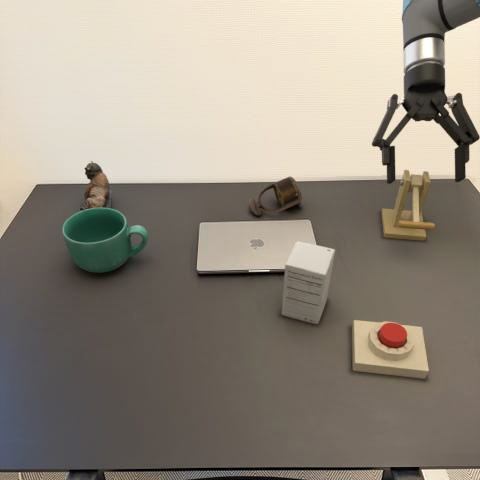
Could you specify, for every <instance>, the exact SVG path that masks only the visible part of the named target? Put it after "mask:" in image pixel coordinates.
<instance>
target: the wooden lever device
mask: <svg viewBox="0 0 480 480" xmlns="http://www.w3.org/2000/svg"><path fill="white" fill-rule="evenodd" d="M421 175H422V186H421V189H420V191H419V222H424V217H423V212H422V211H423V208H424V204H425V201H426V198H427V196H428V193H429V189H430V187H431V183H432V182H431V178H430V174H429V171H423V172H422V174H421ZM410 176H411V174H410V170H408V169H404V170H403V173H402V176H401V179H400V180H399V181H400V182H399V188H398V192H397V196H396V200H395V203H394V206H393V208H381V213H380V214H381V222H382V231H383V232H382V233H383V238H384V239H386V238H387V239H397V240H410V241H422V242H425V241H426V239H427V232H426V230H423V229H411V228H399V227H398V221H399V220H402V221H413V219H412V210H409V209H407V210H406V209H404V208H405V207H404V206H405V204H406V200H407V196H408V193H409V192H408V190H409V186H410V183H411V178H410Z"/></svg>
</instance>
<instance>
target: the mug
mask: <svg viewBox="0 0 480 480" xmlns="http://www.w3.org/2000/svg"><path fill="white" fill-rule="evenodd" d="M61 231H62V235H63V239H64V242H65V244H66V248H67V250H68V253H69V255H70V258H71V259H72V261H73V263H75V265H76V266H77V267H79V268H80V269H82V270H84V271H86V272H89V273H98V274H100V273H108V272H111V271H114V270H116V269H119V268H121V266H122V265H124V264H125V263H126V262H127V260H128V259H129V258H130V257H133V256H135V255H138V254H139V253H140V252H142V251H143V250H144V249H145V248H146V246H147V243H148V241H149V232H148V231H147V229H146V228H145V227H144V226H142V225H139V224H135V225H131V226H128V222H127V218H126V216H125V215H124V214H123V213H122V212H120V211H119V210H116V209H114V208H111V207H110V208H91V209H86V210H83V211H80V212H79V211H78V212H76V213H74V214H73V215H71V216H70V217H68V218H67V219H66V220H65V222H64V223H63V225H62V230H61ZM134 234H135V235H139V236H140V237H141V238H142V241H141V242H140V243H138V244H136V245H134V246H132V239H131V237H132V235H134Z"/></svg>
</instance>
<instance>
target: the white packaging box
mask: <svg viewBox="0 0 480 480" xmlns="http://www.w3.org/2000/svg"><path fill="white" fill-rule="evenodd" d="M335 254H336V249H334V248H330V247H327V246H323V245H317V244H313V243H308V242H303V241H299V240H298V241H295V243H294V245H293V247H292V250H291V251H290V254H289V256H288V258H287V260H286V262H285V264H284V278H283V287H282V301H281V316H284V317H287V318H291V319H296V320H298V321H303V322H307V323H309V324H314V325H319V323H320V320H321V318H322V315H323V313H324V310H325V306H326V304H327V300H328V295H329V290H330V289H329V288H330V283H331V278H332V272H333V266H334V261H335Z"/></svg>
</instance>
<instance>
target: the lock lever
mask: <svg viewBox="0 0 480 480" xmlns="http://www.w3.org/2000/svg"><path fill="white" fill-rule="evenodd" d="M410 178H411V183H410V186H409V190H408V193H411V211H412V219H413V221H402V220H399V221H398V227H399V228H411V229H423V230H425V231H434V230H435V227H436V225H435V222H427V221H426V222H424V221H423V222H419V191H420V189H421V186H422V174H412V173H411V174H410Z"/></svg>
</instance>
